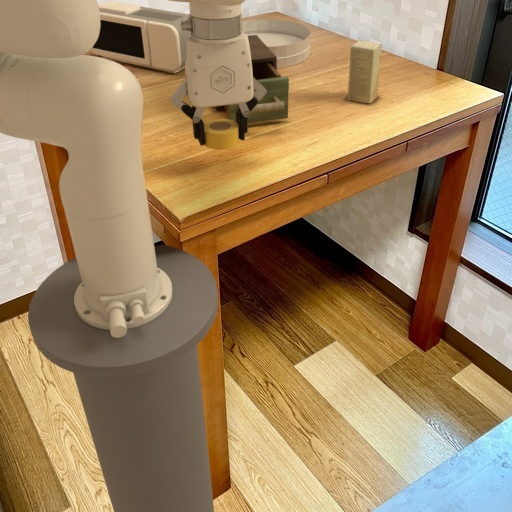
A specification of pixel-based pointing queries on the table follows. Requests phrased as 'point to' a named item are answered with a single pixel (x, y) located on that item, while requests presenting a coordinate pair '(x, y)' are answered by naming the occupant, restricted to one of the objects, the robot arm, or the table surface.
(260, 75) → the drawer
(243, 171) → the table surface
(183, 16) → the alarm clock
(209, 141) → the tape
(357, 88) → the box
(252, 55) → the cabinet
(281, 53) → the dish
